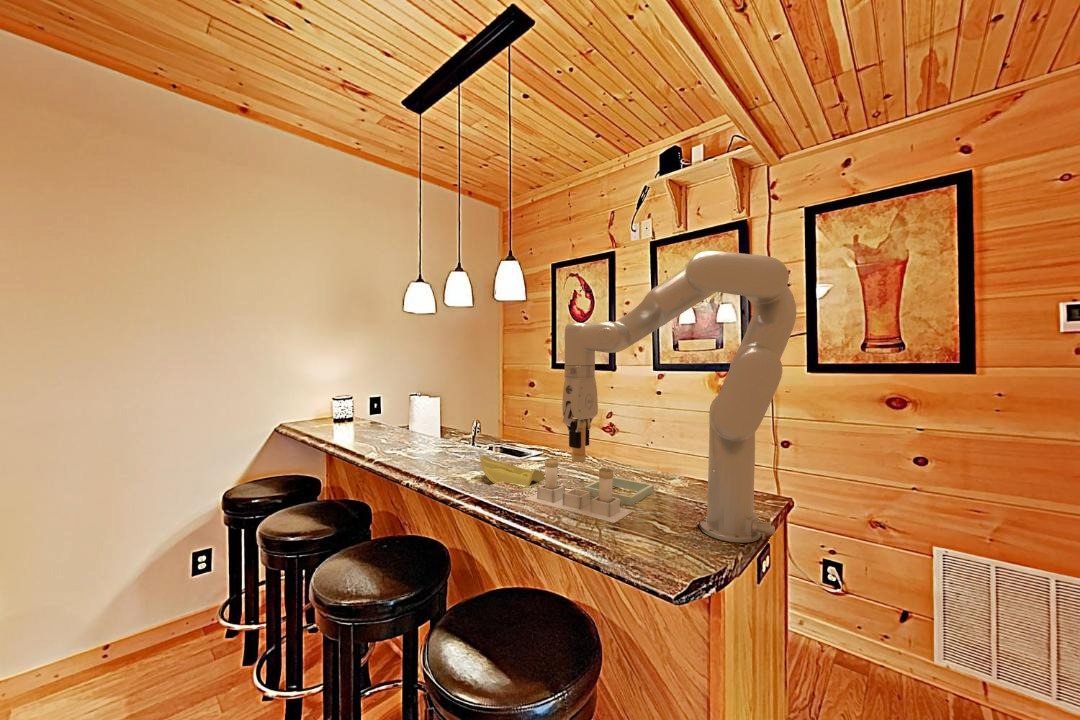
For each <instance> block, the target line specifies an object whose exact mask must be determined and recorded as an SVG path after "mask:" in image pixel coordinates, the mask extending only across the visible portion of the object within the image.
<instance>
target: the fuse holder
mask: <svg viewBox="0 0 1080 720" xmlns="http://www.w3.org/2000/svg"><path fill="white" fill-rule="evenodd" d="M536 489H537V490H536V493H535V494H532V495H530V496H528V497H525V498H524V500H526V501H529V502H533V503H538V504H542V505H544V506H549V507H551V508H557V509H560V510H564V511H568V512H570V513H571V512H572V513H576V514H578V515H583V516H585V517H586V516H587V517H591V518H594V519H598V520H602V521H605V522H610V523H611V524H612V523H613V524H615V523H616V522H618V521H620V520H621V519H623V518H624V517H626V516H628V515H629V514H631V513H632V512H634V510H632V509H628V508H624V507H621V503H620V499H619V498H614V497H612V502H610V503H606V502H602V501H599V496H597V497H592V496H591V493H592V492H588V491H584V490H583V489H580V488H572V489H570V490H567V491H566V486H565V485H562V484H557V489H554V490H551V489H547V488H545V483H543V484H541V485H539V486H537V487H536Z"/></svg>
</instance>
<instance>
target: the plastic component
mask: <svg viewBox="0 0 1080 720" xmlns="http://www.w3.org/2000/svg"><path fill="white" fill-rule="evenodd" d="M480 466H481V468H482V472H483V473H484V475H485V476H486V477H487V479H488V480H489V481H490V482H491V483H493V484H498V483H500V482H503V483H508V484H513V485H520V486H525V487H526V488H528V487H530V485H531V483H532V482H534V483H539V482H542V481H543V480H545V473H544V472H542V471H540V470H538V469H537V468H533V469H532V470H530V469H526V468H522V467H518V466H514V465H511V464H507V463H505V462H504V463H503V462H501V461H497V460H495V459H492V458H490V457H488V456H486V455H483V454H482V455H481V456H480Z"/></svg>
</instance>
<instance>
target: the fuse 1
mask: <svg viewBox="0 0 1080 720" xmlns="http://www.w3.org/2000/svg"><path fill="white" fill-rule="evenodd" d="M544 467H545V468H544V469H545V471H544V472H545V473H544V474H545V476H544V484H545V488H547V489H551V490H554V489H557V485H558V471H559V470H558V469H559V468H558V467H559V459H558V458H551V457H549V458H546V459H544Z"/></svg>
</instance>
